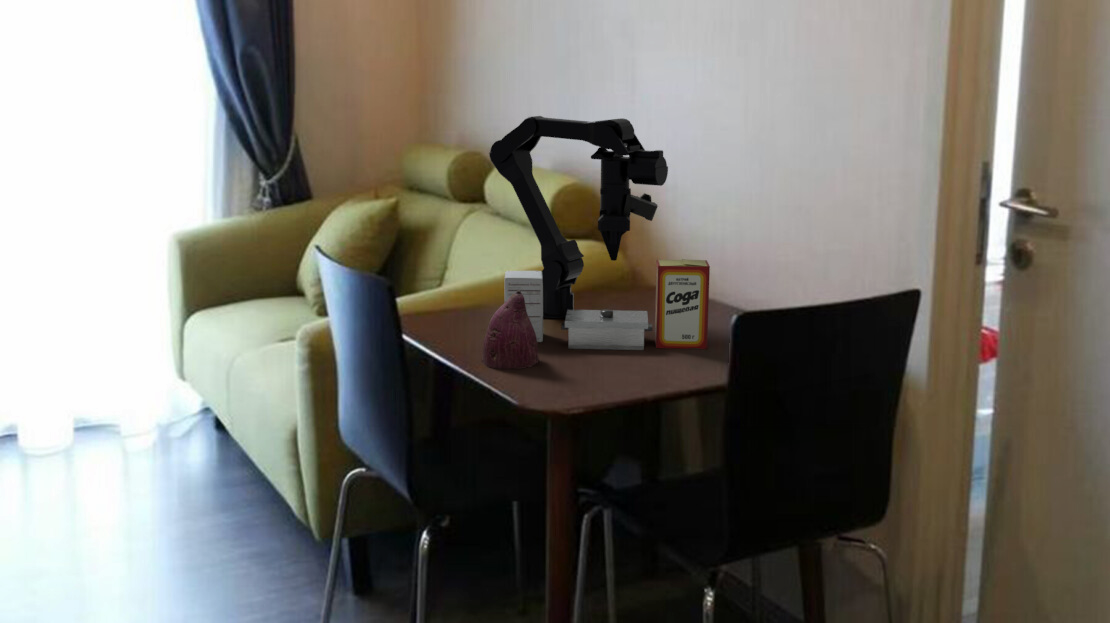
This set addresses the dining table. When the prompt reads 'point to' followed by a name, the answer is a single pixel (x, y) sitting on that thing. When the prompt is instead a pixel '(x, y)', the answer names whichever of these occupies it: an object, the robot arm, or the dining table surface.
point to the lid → (606, 319)
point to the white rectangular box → (606, 338)
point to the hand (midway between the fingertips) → (613, 260)
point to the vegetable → (510, 337)
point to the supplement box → (528, 295)
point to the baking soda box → (682, 303)
